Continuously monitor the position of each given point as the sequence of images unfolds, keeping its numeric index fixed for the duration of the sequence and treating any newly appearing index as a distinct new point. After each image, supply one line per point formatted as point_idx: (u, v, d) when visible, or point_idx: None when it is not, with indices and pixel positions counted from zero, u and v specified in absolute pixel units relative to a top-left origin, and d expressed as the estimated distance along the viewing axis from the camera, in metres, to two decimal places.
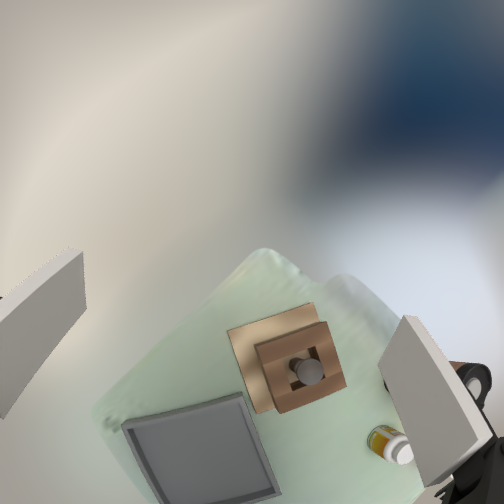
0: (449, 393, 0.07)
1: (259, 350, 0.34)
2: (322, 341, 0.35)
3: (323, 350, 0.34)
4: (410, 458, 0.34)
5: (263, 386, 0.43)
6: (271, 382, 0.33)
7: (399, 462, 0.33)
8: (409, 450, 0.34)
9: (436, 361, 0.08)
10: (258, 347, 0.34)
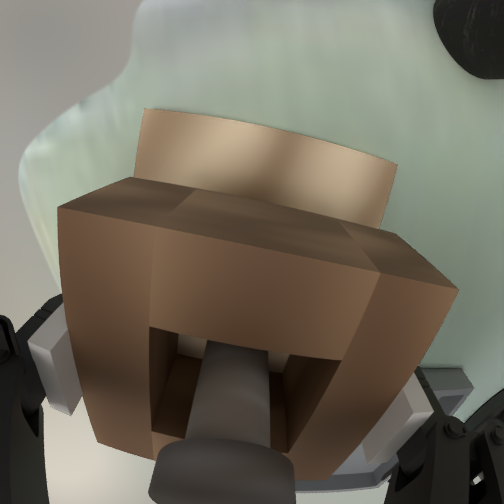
0: None
1: (109, 444, 0.08)
2: (144, 284, 0.06)
3: (195, 306, 0.06)
4: None
5: None
6: None
7: None
8: None
9: None
10: (100, 441, 0.08)
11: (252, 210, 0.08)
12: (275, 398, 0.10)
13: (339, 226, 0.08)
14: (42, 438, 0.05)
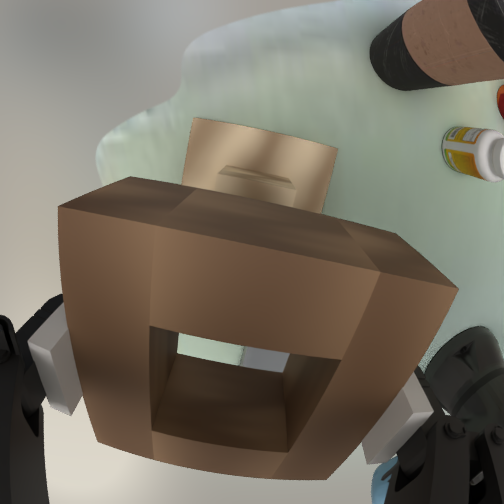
0: None
1: (109, 444, 0.09)
2: (144, 284, 0.06)
3: (195, 305, 0.06)
4: None
5: None
6: (220, 471, 0.09)
7: None
8: None
9: None
10: (100, 441, 0.08)
11: (252, 209, 0.08)
12: (276, 397, 0.10)
13: (339, 225, 0.08)
14: (42, 438, 0.05)
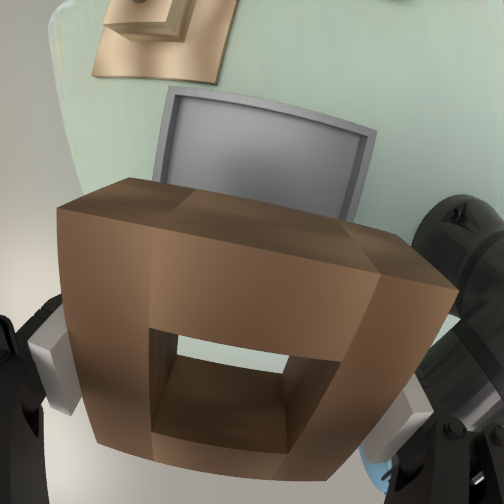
0: None
1: (108, 445, 0.08)
2: (143, 286, 0.06)
3: (195, 307, 0.06)
4: None
5: (180, 56, 0.24)
6: (219, 472, 0.09)
7: None
8: None
9: None
10: (99, 442, 0.08)
11: (252, 211, 0.08)
12: (276, 398, 0.10)
13: (339, 227, 0.08)
14: (42, 438, 0.05)
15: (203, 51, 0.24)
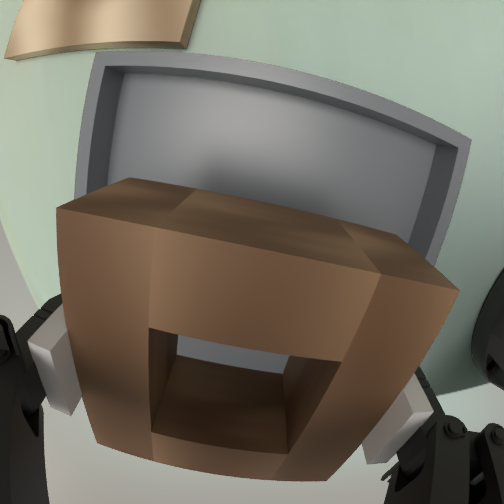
0: None
1: (108, 445, 0.08)
2: (143, 285, 0.06)
3: (195, 307, 0.06)
4: None
5: (124, 6, 0.11)
6: (219, 472, 0.09)
7: None
8: None
9: None
10: (99, 442, 0.08)
11: (252, 211, 0.08)
12: (276, 398, 0.10)
13: (339, 227, 0.08)
14: (42, 438, 0.05)
15: None
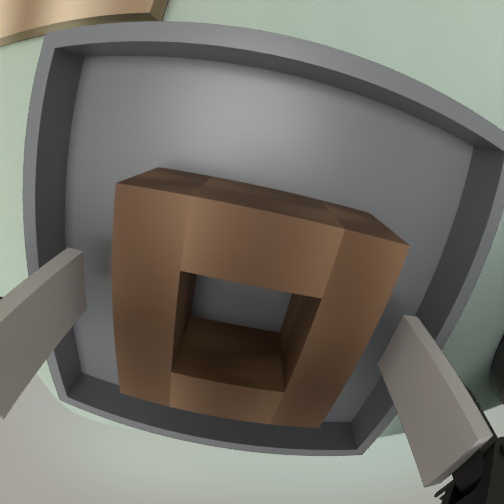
0: (449, 393, 0.07)
1: (130, 393, 0.11)
2: (179, 238, 0.09)
3: (215, 253, 0.09)
4: None
5: None
6: (226, 415, 0.11)
7: None
8: None
9: (436, 361, 0.08)
10: (122, 391, 0.11)
11: (255, 191, 0.11)
12: (274, 350, 0.13)
13: (320, 204, 0.11)
14: None
15: None
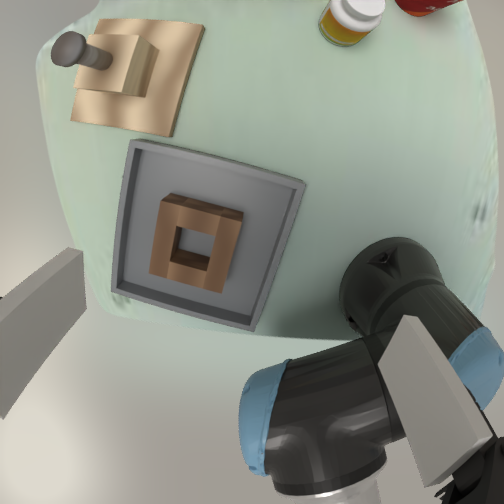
0: (449, 393, 0.07)
1: (152, 273, 0.34)
2: (177, 216, 0.31)
3: (186, 221, 0.32)
4: (379, 0, 0.18)
5: (141, 110, 0.30)
6: (186, 282, 0.34)
7: (369, 13, 0.18)
8: None
9: (436, 361, 0.08)
10: (149, 272, 0.34)
11: (200, 204, 0.33)
12: (207, 261, 0.36)
13: (222, 208, 0.34)
14: None
15: (160, 107, 0.30)
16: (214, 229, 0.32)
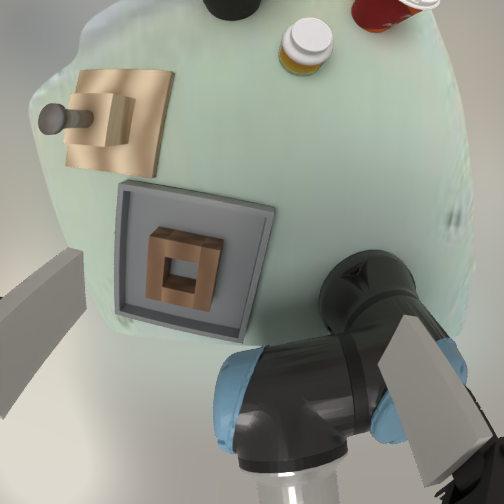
0: (449, 393, 0.07)
1: (148, 297, 0.39)
2: (164, 248, 0.36)
3: (172, 252, 0.36)
4: (326, 33, 0.22)
5: (126, 155, 0.35)
6: (178, 304, 0.39)
7: (316, 49, 0.23)
8: (308, 27, 0.22)
9: (436, 361, 0.08)
10: (146, 296, 0.39)
11: (185, 235, 0.38)
12: (195, 284, 0.41)
13: (204, 238, 0.39)
14: None
15: (142, 151, 0.35)
16: (197, 258, 0.37)
